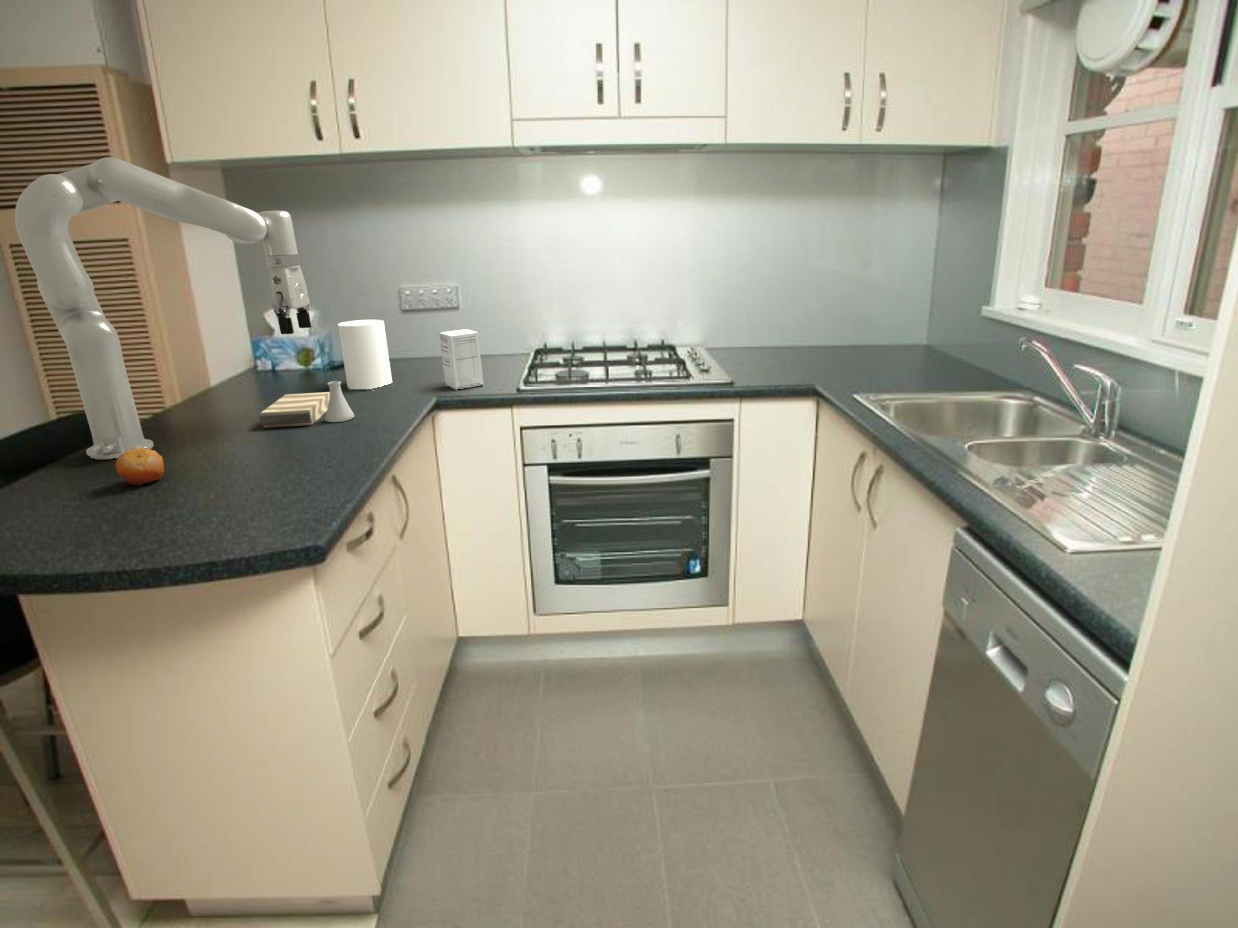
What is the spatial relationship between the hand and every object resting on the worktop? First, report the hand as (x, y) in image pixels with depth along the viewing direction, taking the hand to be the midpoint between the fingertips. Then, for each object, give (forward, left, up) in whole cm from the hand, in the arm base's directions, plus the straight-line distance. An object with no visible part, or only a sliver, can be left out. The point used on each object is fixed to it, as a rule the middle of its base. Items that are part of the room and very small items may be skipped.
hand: (296, 330), depth 184 cm
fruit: (-48, +20, -23) cm, 57 cm away
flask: (-6, -9, -23) cm, 25 cm away
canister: (+34, -9, -23) cm, 42 cm away
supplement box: (+26, -39, -23) cm, 52 cm away
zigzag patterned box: (0, +3, -23) cm, 23 cm away
